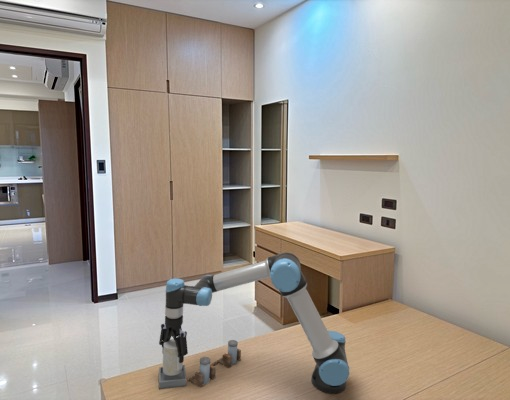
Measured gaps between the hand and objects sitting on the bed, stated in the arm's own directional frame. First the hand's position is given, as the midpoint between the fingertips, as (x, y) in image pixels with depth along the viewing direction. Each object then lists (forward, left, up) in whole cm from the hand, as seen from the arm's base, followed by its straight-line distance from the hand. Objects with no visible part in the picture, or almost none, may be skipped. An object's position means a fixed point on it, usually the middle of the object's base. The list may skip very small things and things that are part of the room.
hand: (172, 365), depth 153 cm
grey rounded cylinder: (-12, -8, -7) cm, 16 cm away
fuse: (-12, -28, -7) cm, 31 cm away
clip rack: (-10, -18, -7) cm, 21 cm away
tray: (0, 0, -7) cm, 7 cm away
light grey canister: (0, 0, -2) cm, 2 cm away
